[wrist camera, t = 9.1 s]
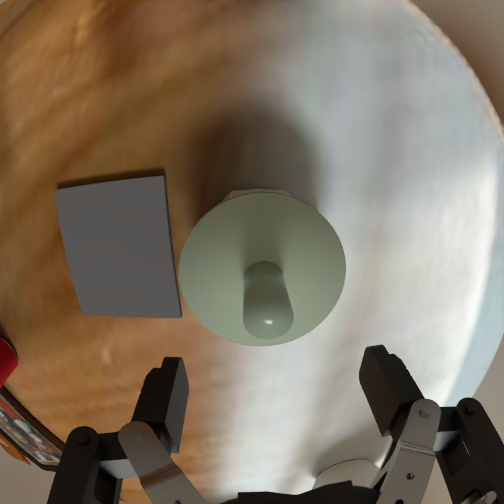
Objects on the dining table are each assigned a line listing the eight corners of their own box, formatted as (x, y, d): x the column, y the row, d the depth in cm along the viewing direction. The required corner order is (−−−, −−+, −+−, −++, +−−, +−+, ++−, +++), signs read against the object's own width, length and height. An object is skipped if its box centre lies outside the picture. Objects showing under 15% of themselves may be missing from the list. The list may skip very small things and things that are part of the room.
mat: (57, 189, 24) (54, 190, 23) (165, 175, 24) (163, 175, 23) (84, 311, 29) (82, 314, 28) (182, 315, 29) (181, 318, 28)
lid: (173, 195, 19) (145, 215, 13) (347, 192, 19) (385, 211, 14) (191, 339, 23) (179, 390, 18) (332, 334, 23) (352, 383, 18)
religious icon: (109, 467, 44) (106, 476, 42) (56, 471, 51) (53, 477, 49) (-23, 349, 33) (-31, 357, 31) (-37, 387, 40) (-42, 392, 38)
